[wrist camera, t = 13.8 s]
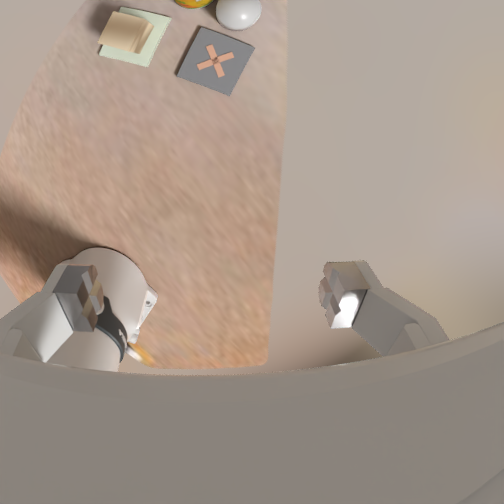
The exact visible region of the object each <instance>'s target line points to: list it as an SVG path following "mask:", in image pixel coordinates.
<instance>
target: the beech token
mask: <svg viewBox="0 0 504 504" xmlns="http://www.w3.org/2000/svg"><path fill="white" fill-rule="evenodd" d="M153 28H154V26H153V25H152V24H151V23H149V22H148V21H147V20H145V19H143V18H139V17H135V16H132V15H128V14H123V13H119V12H115V11H113V13H112V15H111V17H110V18H109V20H108V22H107V24H106V26H105V28H104V30H103V32H102V34H101V36H100V38H99V40H98V42H97V43H99V44H103V45H107V46H111V47H115V48H118V49H122V50H125V51H129V52H133V53H137V54H140V52H141V50H142V48H143V46H144V44H145V42H146V41H147V39H148V37H149V35H150V33H151V31H152V30H153Z"/></svg>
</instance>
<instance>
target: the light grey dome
mask: <svg viewBox="0 0 504 504" xmlns="http://www.w3.org/2000/svg"><path fill="white" fill-rule="evenodd" d="M260 14H261V4H260V2H259V0H219V1H218V3H217V6H216V17H217V20H218V22H219V24H220V25H221V26H223V27H224V28H226V29H228V30H231V31H243V30H246V29H248V28H250V27H251V26H253V25H254V23H255V22H256V21H257V20H258V18H259V17H260Z"/></svg>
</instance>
